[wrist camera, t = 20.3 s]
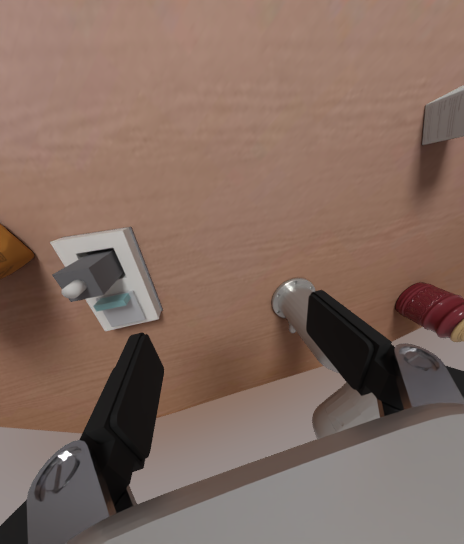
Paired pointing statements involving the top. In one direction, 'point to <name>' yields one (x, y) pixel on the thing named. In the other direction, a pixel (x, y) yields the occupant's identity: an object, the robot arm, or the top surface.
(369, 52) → the top surface
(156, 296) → the socket
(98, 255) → the plug
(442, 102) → the supplement box
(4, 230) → the coffee package
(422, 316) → the canister
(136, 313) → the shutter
